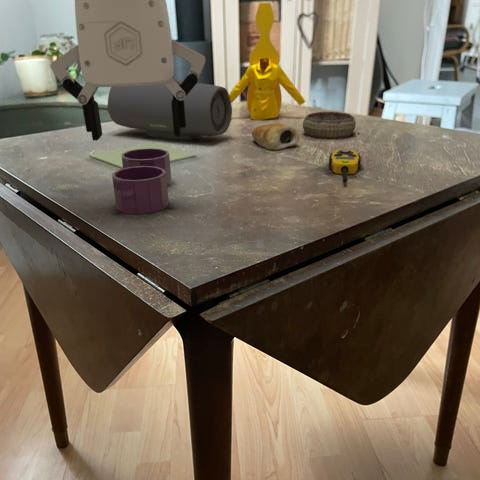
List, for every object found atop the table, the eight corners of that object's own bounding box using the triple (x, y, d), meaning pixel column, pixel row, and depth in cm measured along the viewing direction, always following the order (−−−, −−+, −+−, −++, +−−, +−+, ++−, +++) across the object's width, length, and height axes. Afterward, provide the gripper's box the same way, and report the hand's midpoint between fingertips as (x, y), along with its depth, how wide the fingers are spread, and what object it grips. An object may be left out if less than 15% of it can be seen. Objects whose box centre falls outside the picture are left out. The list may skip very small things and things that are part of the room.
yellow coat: (223, 121, 117) (219, 3, 105) (225, 114, 123) (221, 3, 112) (305, 120, 116) (310, 1, 105) (302, 113, 123) (307, 1, 112)
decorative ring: (335, 141, 98) (365, 132, 105) (336, 123, 97) (366, 115, 103) (291, 134, 105) (322, 126, 111) (292, 116, 103) (323, 109, 109)
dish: (134, 218, 66) (130, 184, 64) (107, 205, 70) (102, 173, 68) (178, 205, 69) (176, 173, 67) (149, 194, 74) (146, 163, 72)
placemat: (130, 171, 84) (129, 169, 83) (89, 156, 92) (88, 154, 92) (196, 156, 91) (196, 154, 91) (152, 143, 99) (152, 142, 99)
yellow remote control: (360, 147, 87) (363, 173, 74) (359, 159, 88) (361, 187, 75) (330, 147, 87) (327, 172, 75) (329, 159, 88) (326, 186, 76)
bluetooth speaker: (234, 137, 103) (233, 80, 98) (209, 147, 96) (207, 86, 91) (138, 127, 113) (132, 74, 107) (109, 136, 105) (102, 80, 100)
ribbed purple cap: (141, 193, 74) (138, 162, 72) (116, 183, 78) (112, 153, 76) (180, 183, 78) (178, 153, 76) (154, 174, 82) (151, 146, 80)
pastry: (242, 141, 100) (242, 120, 98) (272, 137, 103) (272, 116, 101) (272, 151, 93) (273, 128, 91) (303, 146, 96) (304, 124, 94)
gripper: (23, -33, 53) (58, 146, 62) (200, -38, 54) (210, 139, 62) (42, -29, 59) (71, 133, 68) (199, -34, 60) (208, 126, 69)
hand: (137, 136), depth 65 cm, fingers open, 9 cm apart
